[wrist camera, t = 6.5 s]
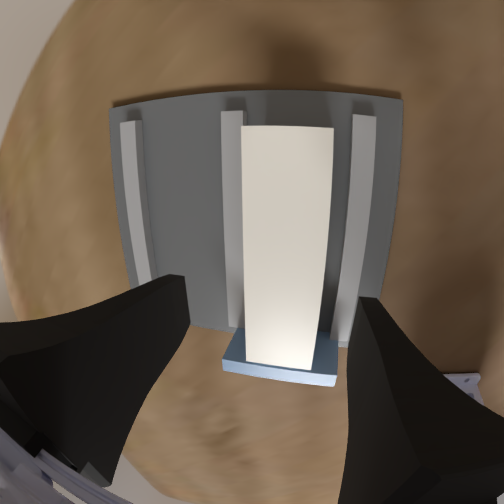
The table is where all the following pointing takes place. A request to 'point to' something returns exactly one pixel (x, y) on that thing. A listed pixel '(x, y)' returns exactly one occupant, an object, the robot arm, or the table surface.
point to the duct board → (230, 205)
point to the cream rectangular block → (284, 239)
